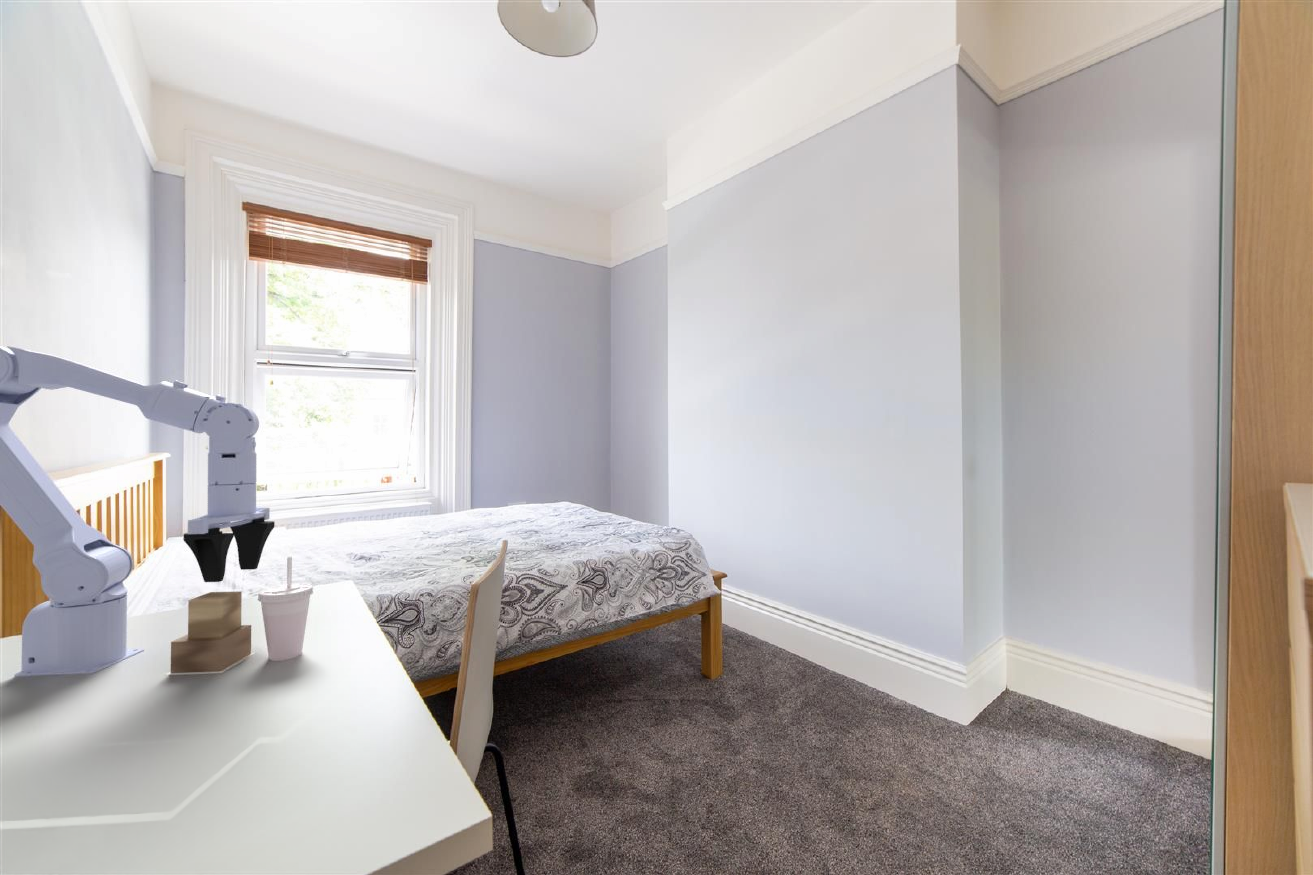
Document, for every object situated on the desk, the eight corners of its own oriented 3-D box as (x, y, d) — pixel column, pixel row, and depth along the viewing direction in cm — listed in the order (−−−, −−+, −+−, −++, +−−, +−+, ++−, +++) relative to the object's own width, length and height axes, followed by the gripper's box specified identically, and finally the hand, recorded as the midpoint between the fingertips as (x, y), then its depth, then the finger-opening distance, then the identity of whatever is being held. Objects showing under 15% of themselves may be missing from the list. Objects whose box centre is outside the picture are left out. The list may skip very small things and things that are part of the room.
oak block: (220, 637, 71) (221, 599, 71) (187, 638, 71) (188, 600, 71) (241, 627, 75) (241, 591, 75) (210, 628, 74) (210, 592, 75)
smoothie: (323, 650, 78) (324, 553, 78) (289, 668, 72) (289, 563, 72) (282, 649, 79) (283, 552, 79) (244, 666, 72) (245, 562, 73)
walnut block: (170, 673, 69) (170, 641, 69) (205, 655, 75) (205, 626, 75) (220, 671, 70) (220, 640, 70) (251, 653, 76) (251, 624, 76)
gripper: (226, 487, 74) (226, 586, 74) (289, 480, 88) (289, 563, 88) (171, 488, 73) (170, 588, 73) (243, 480, 88) (243, 564, 87)
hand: (232, 575), depth 81 cm, fingers open, 7 cm apart
